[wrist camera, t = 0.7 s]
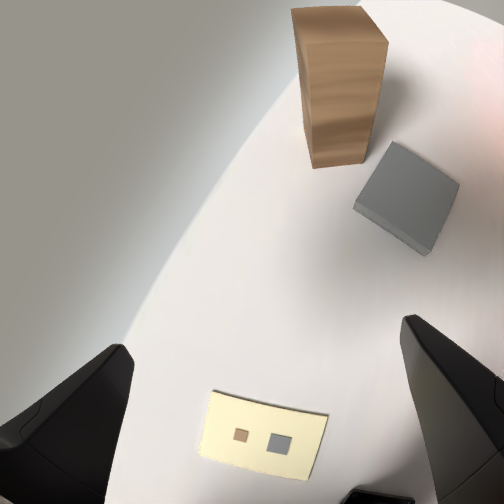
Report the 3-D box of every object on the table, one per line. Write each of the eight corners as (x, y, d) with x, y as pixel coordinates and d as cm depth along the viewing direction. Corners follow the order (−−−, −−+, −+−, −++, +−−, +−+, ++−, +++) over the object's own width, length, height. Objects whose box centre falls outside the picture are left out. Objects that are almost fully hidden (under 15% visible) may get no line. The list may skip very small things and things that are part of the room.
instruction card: (327, 416, 19) (327, 417, 19) (307, 480, 18) (307, 481, 17) (212, 391, 21) (210, 391, 21) (199, 453, 20) (197, 454, 19)
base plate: (453, 192, 21) (459, 184, 20) (423, 256, 20) (430, 251, 19) (388, 150, 23) (392, 140, 22) (353, 208, 23) (355, 200, 21)
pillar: (363, 163, 23) (388, 42, 11) (312, 169, 24) (306, 44, 12) (350, 123, 25) (360, 6, 12) (303, 128, 25) (290, 8, 13)
